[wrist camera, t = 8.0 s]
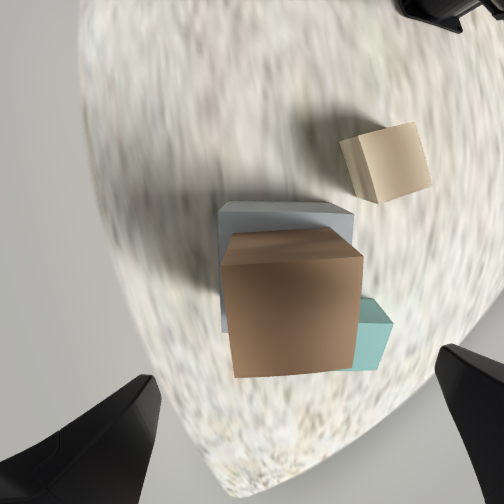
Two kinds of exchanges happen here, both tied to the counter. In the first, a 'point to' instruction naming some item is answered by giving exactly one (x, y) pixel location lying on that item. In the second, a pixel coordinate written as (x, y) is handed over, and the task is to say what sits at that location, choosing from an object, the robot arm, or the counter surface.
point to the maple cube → (386, 163)
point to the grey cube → (276, 224)
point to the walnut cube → (291, 301)
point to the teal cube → (370, 336)
